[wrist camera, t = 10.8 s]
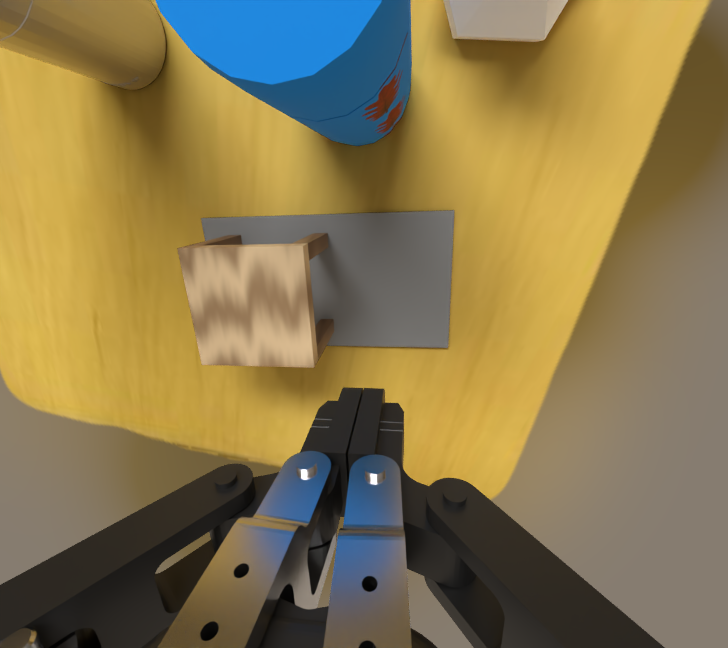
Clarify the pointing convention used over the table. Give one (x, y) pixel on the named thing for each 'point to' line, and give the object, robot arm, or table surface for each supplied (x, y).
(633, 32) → the table surface
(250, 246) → the stool
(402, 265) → the mat
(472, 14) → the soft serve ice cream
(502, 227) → the table surface
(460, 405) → the table surface
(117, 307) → the table surface
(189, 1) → the thermos
